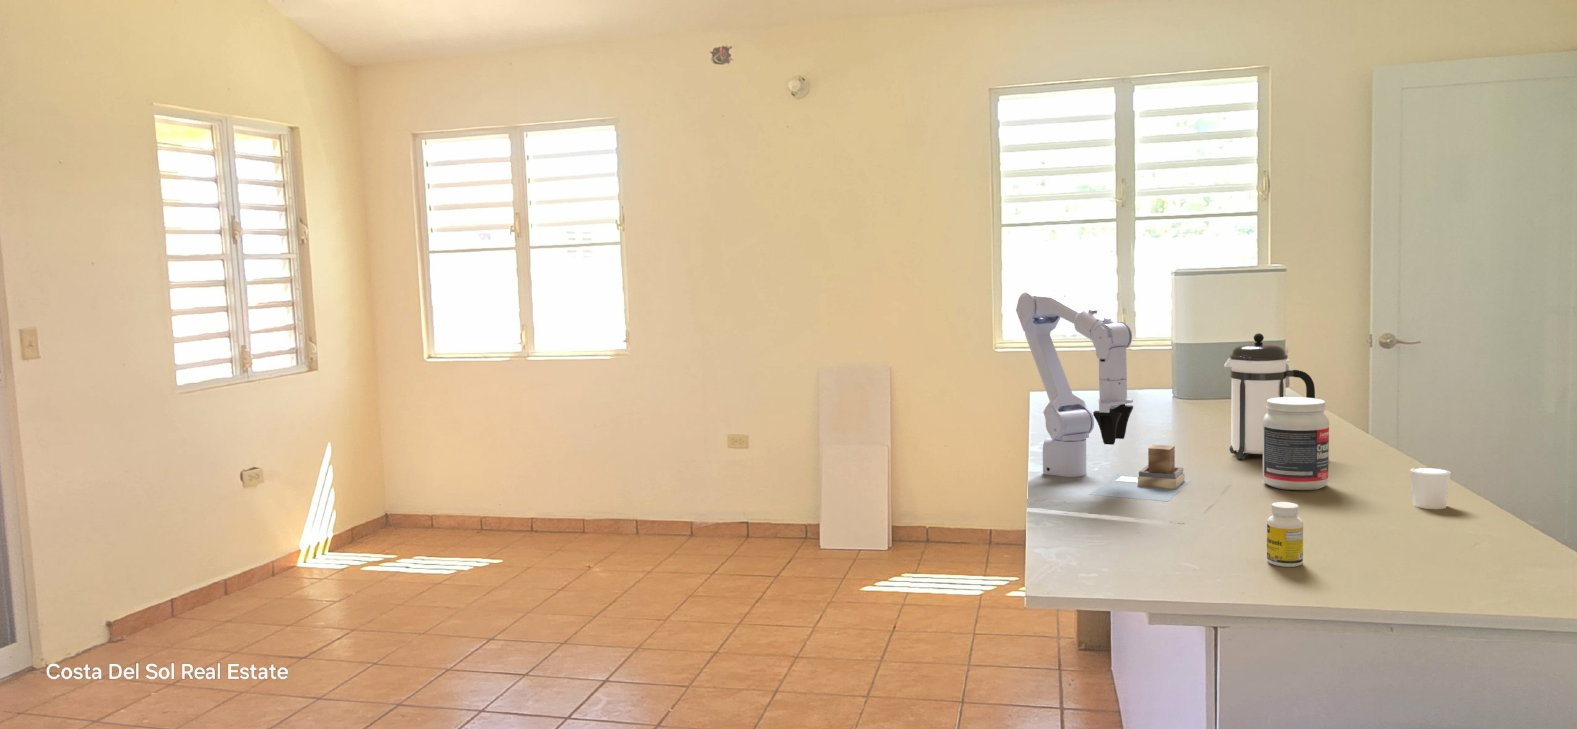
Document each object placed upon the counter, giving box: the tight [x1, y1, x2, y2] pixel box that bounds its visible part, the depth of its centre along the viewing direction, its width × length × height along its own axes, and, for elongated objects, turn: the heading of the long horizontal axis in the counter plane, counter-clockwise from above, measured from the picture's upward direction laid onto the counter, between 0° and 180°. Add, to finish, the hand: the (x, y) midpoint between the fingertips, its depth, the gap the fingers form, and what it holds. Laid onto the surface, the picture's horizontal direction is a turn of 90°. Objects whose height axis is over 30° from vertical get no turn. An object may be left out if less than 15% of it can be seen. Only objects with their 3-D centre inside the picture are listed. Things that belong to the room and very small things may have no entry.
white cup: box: [1409, 466, 1452, 510], centre depth 209 cm, size 7×7×7 cm
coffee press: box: [1223, 332, 1316, 461], centre depth 260 cm, size 17×16×30 cm
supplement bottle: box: [1266, 501, 1304, 568], centre depth 176 cm, size 5×5×10 cm
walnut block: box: [1147, 444, 1176, 473], centre depth 233 cm, size 4×4×6 cm
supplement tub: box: [1262, 396, 1330, 491], centre depth 229 cm, size 13×13×18 cm
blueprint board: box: [1088, 464, 1192, 502], centre depth 230 cm, size 16×22×4 cm
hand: (1114, 441), depth 232 cm, fingers open, 7 cm apart
